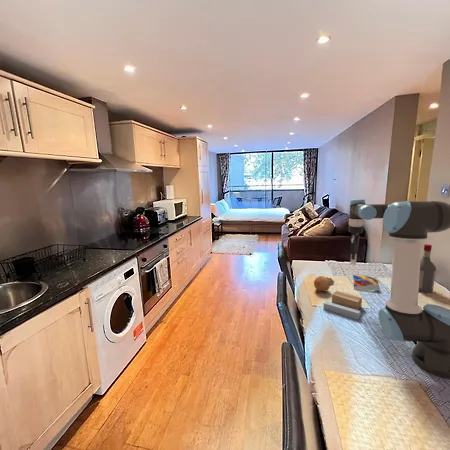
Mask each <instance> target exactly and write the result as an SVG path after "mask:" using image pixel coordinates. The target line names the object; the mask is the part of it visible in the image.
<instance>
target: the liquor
mask: <svg viewBox="0 0 450 450" xmlns="http://www.w3.org/2000/svg"><path fill="white" fill-rule="evenodd" d="M432 247H433V246H432V244H424V245H423V253H422V258H421V259H420V275H419V291H418V293H422V292H424V293H426V294H431V293H433V291H434V285H435V280H436V273H437V268H436V266H435V264H434V262H432V261H431V255H432V253H431V251H432ZM424 293H423V294H424Z"/></svg>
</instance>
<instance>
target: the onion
mask: <svg viewBox="0 0 450 450" xmlns="http://www.w3.org/2000/svg"><path fill="white" fill-rule="evenodd" d="M313 286H314V288H315V289H316V290H317V291H319V292H323V293H324V292H326V291H327V290H329V289H330V287H329V286H331V285H330V283H329V280H328V279H327V277H326V276H324V275H320V276H317V277H315V279H314V281H313Z"/></svg>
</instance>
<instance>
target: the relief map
mask: <svg viewBox="0 0 450 450" xmlns="http://www.w3.org/2000/svg"><path fill="white" fill-rule="evenodd" d="M352 279H353V290H354V291H360V292H368V293H374V294H380V295H382V291H381V287H380V284H379V281H378V278H377V277H373V276H367V275H355V274H352Z"/></svg>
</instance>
